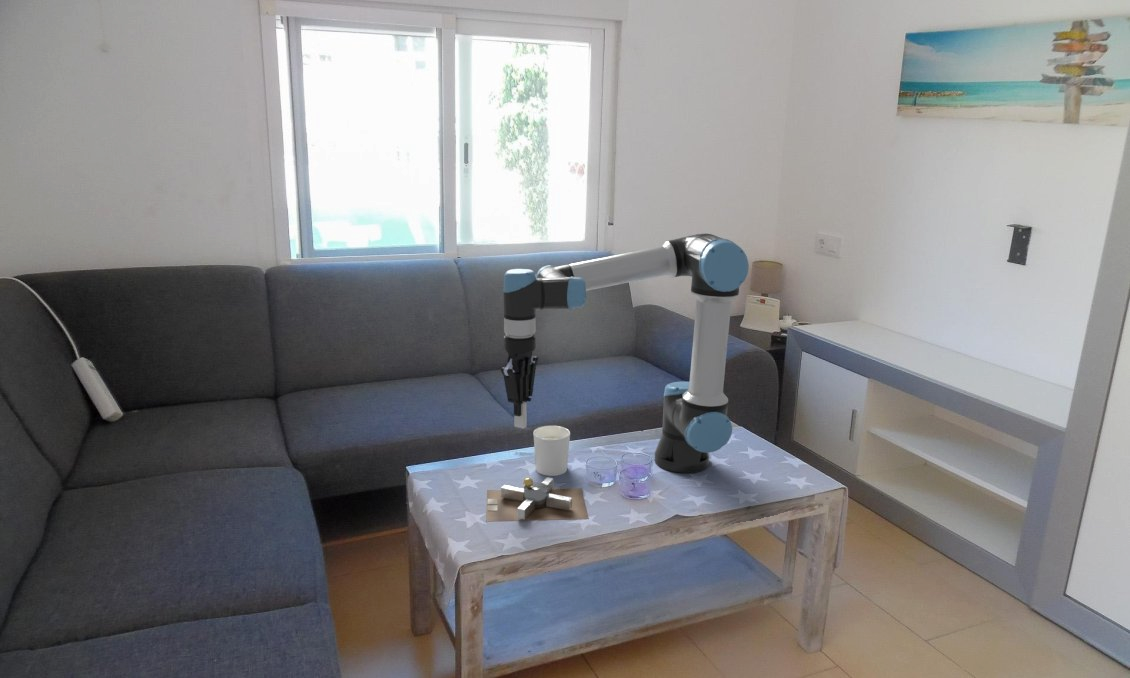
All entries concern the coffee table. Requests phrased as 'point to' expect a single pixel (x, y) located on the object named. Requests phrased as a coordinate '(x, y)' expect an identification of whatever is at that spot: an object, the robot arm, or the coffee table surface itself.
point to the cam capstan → (535, 496)
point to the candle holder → (551, 450)
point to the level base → (509, 509)
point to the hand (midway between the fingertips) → (520, 426)
